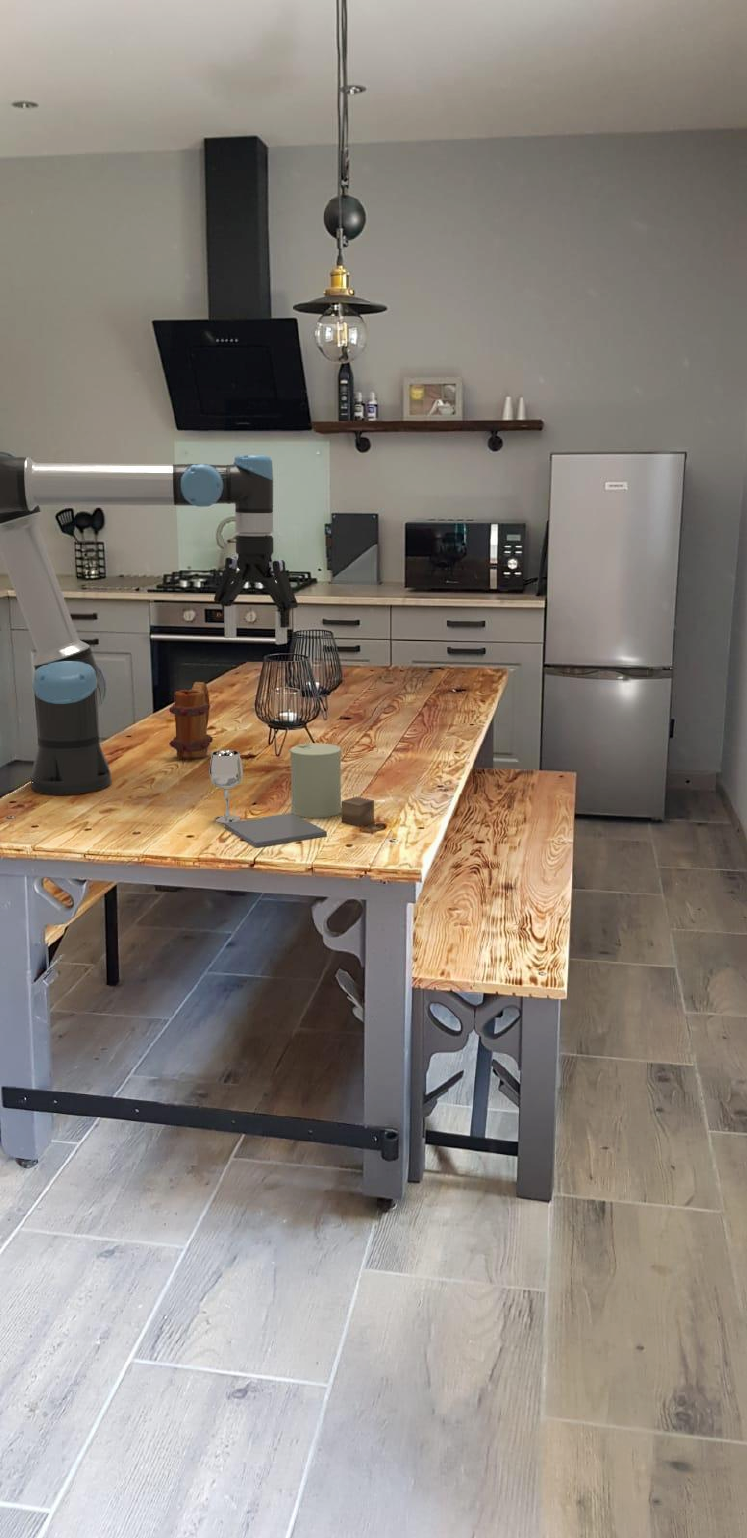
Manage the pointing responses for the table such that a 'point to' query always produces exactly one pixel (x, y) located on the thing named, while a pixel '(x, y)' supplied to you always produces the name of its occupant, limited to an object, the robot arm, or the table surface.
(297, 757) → the can
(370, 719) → the table surface
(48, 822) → the table surface
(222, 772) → the wineglass
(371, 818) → the walnut block
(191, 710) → the mug
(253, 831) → the coaster
